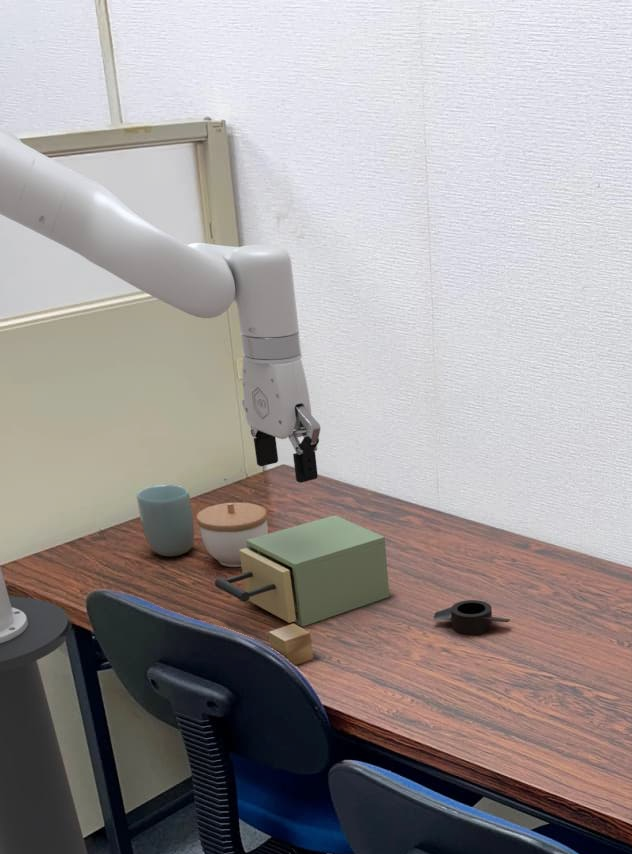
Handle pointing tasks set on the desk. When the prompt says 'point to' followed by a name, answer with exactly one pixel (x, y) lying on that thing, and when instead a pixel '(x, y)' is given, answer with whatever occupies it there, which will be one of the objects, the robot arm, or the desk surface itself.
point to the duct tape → (469, 617)
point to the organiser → (329, 565)
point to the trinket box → (230, 529)
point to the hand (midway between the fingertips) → (287, 472)
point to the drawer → (264, 584)
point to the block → (292, 643)
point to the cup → (167, 519)
